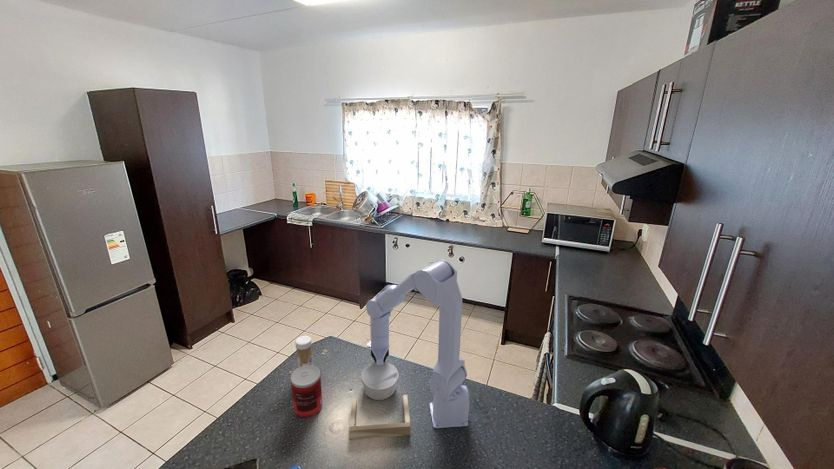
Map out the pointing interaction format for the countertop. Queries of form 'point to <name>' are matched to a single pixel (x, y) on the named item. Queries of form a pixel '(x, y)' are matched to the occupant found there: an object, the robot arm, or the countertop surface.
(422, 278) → the robot arm
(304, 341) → the sprinkles bottle
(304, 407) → the canned food
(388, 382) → the ramekin
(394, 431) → the birch dock
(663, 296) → the countertop surface
